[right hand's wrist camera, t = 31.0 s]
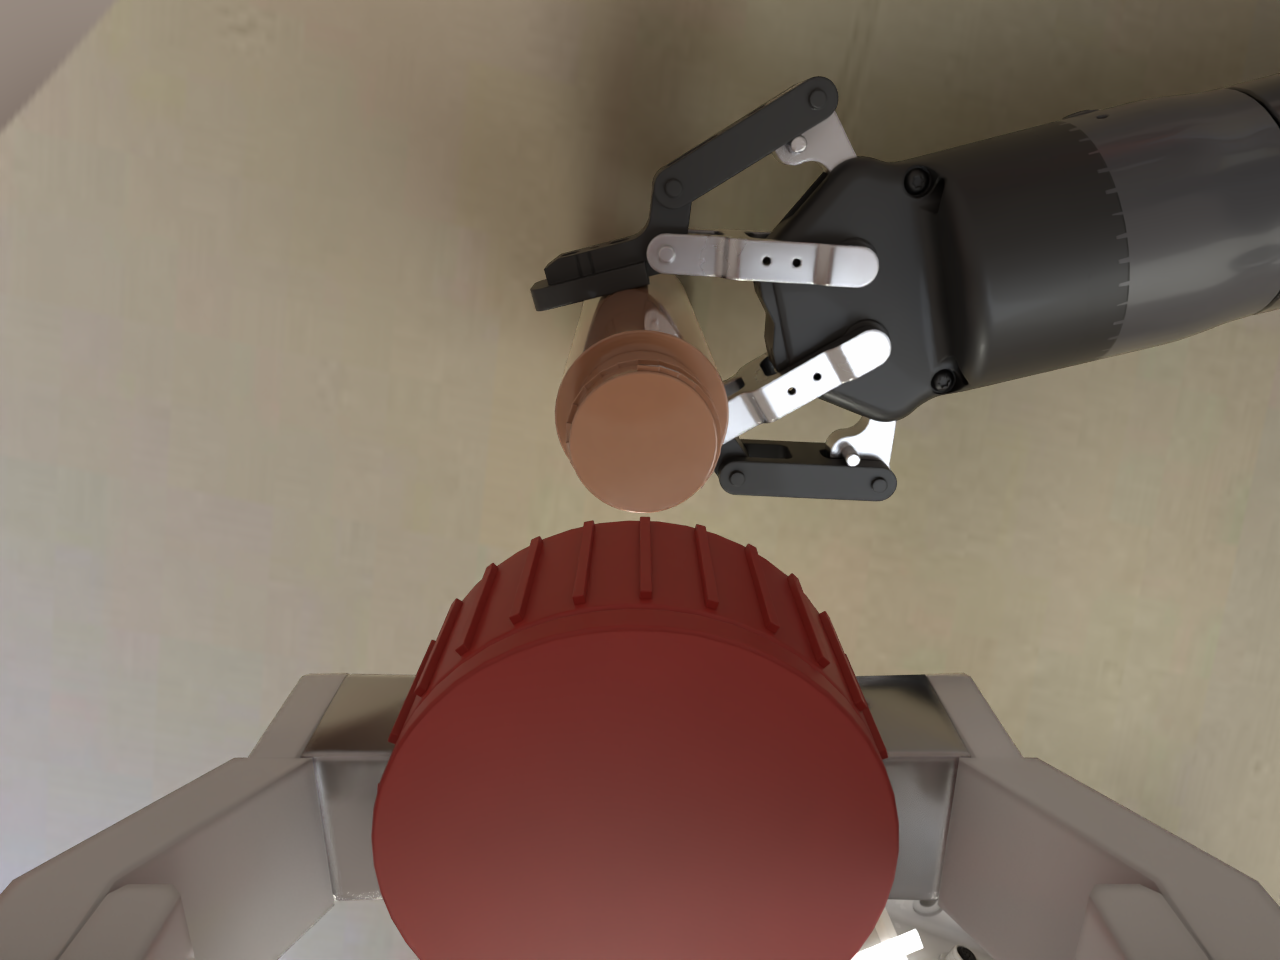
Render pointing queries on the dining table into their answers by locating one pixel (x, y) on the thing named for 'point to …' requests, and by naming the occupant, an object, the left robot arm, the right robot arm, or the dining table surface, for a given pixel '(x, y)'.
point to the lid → (635, 764)
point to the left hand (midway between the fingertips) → (559, 370)
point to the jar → (641, 399)
